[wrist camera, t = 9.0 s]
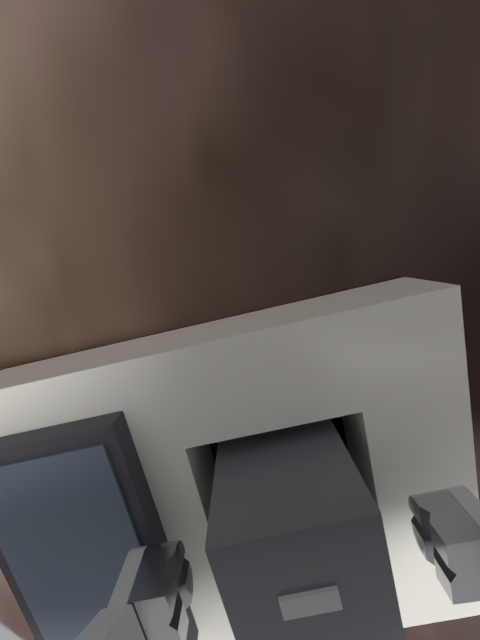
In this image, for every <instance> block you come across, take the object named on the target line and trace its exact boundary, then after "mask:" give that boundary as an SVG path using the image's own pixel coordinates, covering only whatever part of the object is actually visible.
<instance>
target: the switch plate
mask: <svg viewBox="0 0 480 640" xmlns="http://www.w3.org/2000/svg"><path fill="white" fill-rule="evenodd" d="M341 416H342V421H343V426H344V431H345V437H346V442H347V448H348V452H349V454H350V456H351V458H352V460H353V462H354V463H355V465H356V467H357V469H358V471H359V473H360V475H361V477H362V478H363V480H364V482H365V484H366V486H367V488H368V490H369V491H370V493H371V495H372V497H373V499H374V501H375V503H376V505H377V506H378V508H379V510H380V512H381V515H382V520H383V525H384V531H385V536H386V541H387V546H388V551H389V557H390V562H391V567H392V572H393V577H394V583H395V588H396V593H397V598H398V603H399V609H400V614H401V619H402V624H403V628H405V627H411V626H417V625H423V624H429V623H434V622H440V621H446V620H452V619H458V618H464V617H470V616H476V615H480V601H477V602H469V603H462V604H455V605H453V603H452V602H451V600H450V598H449V597H448V595H447V594H446V592H445V590H444V589H443V587H442V585H441V584H440V582H439V580H438V579H437V577H436V570H435V565H433V564H432V563H430V562H429V561H427V560H426V559H425V557H424V555H423V553H422V552H421V550H420V548H419V546H418V544H417V542H416V539H415V536H414V533H413V529H412V524H411V519H412V518H413V516H414V514H413V513H412V511H411V510H410V508H409V503H408V498H409V496H411V495H416V494H420V493H425V492H430V491H435V490H440V489H445V488H450V487H455V486H460V485H463V486H465V487H467V488H468V489H469V490H470V491H471V492H472V493H473V494H474V495H475V497H476V498H477V499H478V500H479V497H478V486H477V474H476V463H475V451H474V439H473V428H472V416H471V405H470V393H469V382H468V370H467V359H466V347H465V336H464V324H463V312H462V301H461V289H460V285H455V284H448V283H442V282H435V281H429V280H422V279H416V278H409V277H402V278H398V279H394V280H389V281H385V282H380V283H376V284H372V285H367V286H363V287H359V288H354V289H350V290H346V291H341V292H337V293H333V294H328V295H324V296H320V297H315V298H311V299H307V300H302V301H298V302H294V303H289V304H285V305H280V306H276V307H272V308H267V309H263V310H259V311H254V312H250V313H246V314H241V315H237V316H233V317H228V318H224V319H220V320H215V321H211V322H207V323H202V324H198V325H194V326H189V327H185V328H180V329H176V330H172V331H167V332H163V333H159V334H154V335H150V336H146V337H141V338H137V339H133V340H128V341H124V342H120V343H115V344H111V345H107V346H102V347H98V348H94V349H89V350H85V351H80V352H76V353H72V354H67V355H63V356H59V357H54V358H50V359H46V360H41V361H37V362H33V363H28V364H24V365H20V366H15V367H11V368H7V369H3V370H1V371H0V568H1V570H2V572H3V574H4V576H5V578H6V580H7V582H8V584H9V586H10V589H11V591H12V593H13V595H14V597H15V599H16V601H17V603H18V605H19V607H20V609H21V611H22V613H23V615H24V617H25V619H26V621H27V623H28V625H29V627H30V629H31V631H32V633H33V635H34V637H35V639H36V640H75V639H76V638H77V637H78V635H79V634H80V633H81V632H82V631H83V630H84V629H85V627H86V626H87V625H88V624H89V623H90V622H91V621H92V620H93V618H94V617H95V616H96V615H97V614H98V613H99V612H100V610H101V609H105V608H107V606H108V604H109V601H110V598H111V596H112V593H113V591H114V588H115V585H116V583H117V580H118V578H119V575H120V572H121V570H122V567H123V565H124V562H125V559H126V557H127V554H128V552H129V551H130V550H131V549H132V548H135V547H141V546H148V545H151V544H158V543H164V542H170V541H176V540H181V541H182V542H183V545H184V547H185V554H184V558H185V559H186V560H188V561H189V562H190V565H191V568H192V574H193V595H192V602H191V604H190V605H189V607H188V608H187V610H186V613H187V616H188V619H189V624H188V630H187V637H186V640H235V637H234V634H233V632H232V629H231V626H230V623H229V620H228V617H227V614H226V611H225V608H224V605H223V602H222V599H221V596H220V594H219V591H218V588H217V585H216V582H215V579H214V576H213V573H212V570H211V567H210V564H209V561H208V559H207V556H206V553H205V543H206V535H207V527H208V519H209V511H210V503H211V495H212V487H213V479H214V471H215V461H214V457H213V454H212V450H211V447H210V444H211V443H216V442H221V441H225V440H230V439H235V438H240V437H245V436H249V435H254V434H259V433H264V432H269V431H273V430H278V429H283V428H288V427H293V426H297V425H302V424H307V423H312V422H317V421H321V420H326V419H331V418H336V417H341Z"/></svg>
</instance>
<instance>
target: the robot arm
mask: <svg viewBox="0 0 480 640" xmlns="http://www.w3.org/2000/svg"><path fill="white" fill-rule="evenodd" d="M408 503H409V508H410V510H411V511H412V513H413V514H414V516H413V518H412V519H411V524H412V529H413V533H414V536H415V539H416V542H417V544H418V546H419V548H420V550H421V552H422V553H423V555H424V557H425V559H426V560H427V561H429V562H430V563H432V564H433V565H435V570H436V577H437V579H438V580H439V582H440V584H441V585H442V587H443V589H444V590H445V592H446V594H447V595H448V597H449V598H450V600H451V602H452V603H453V605H455V604H462V603H469V602H477V601H480V501H479V500H478V499H477V498H476V497H475V495H474V494H473V493H472V492H471V491H470V490H469V489H468V488H467V487H465V486H463V485H460V486H455V487H450V488H445V489H440V490H435V491H430V492H425V493H420V494H416V495H411V496H409V498H408ZM184 554H185V547H184V545H183V542H182V541H181V540H176V541H170V542H164V543H158V544H151V545H148V546H141V547H135V548H132V549H131V550H130V551H129V552H128V554H127V557H126V559H125V562H124V565H123V567H122V570H121V572H120V575H119V578H118V580H117V583H116V585H115V588H114V591H113V593H112V596H111V598H110V601H109V604H108V606H107V608H105V609H101V610H100V612H99V613H98V614H97V615H96V616H95V617H94V618H93V620H92V621H91V622H90V623H89V624H88V625H87V626H86V627H85V629H84V630H83V631H82V632H81V633H80V634H79V635H78V637H77V638H76V639H75V640H186V637H187V630H188V624H189V619H188V616H187V613H186V610H187V608H188V607H189V605H190V604H191V602H192V595H193V574H192V568H191V565H190V562H189V561H188V560H186V559H185V558H184Z"/></svg>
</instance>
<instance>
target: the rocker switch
mask: <svg viewBox="0 0 480 640" xmlns="http://www.w3.org/2000/svg"><path fill="white" fill-rule="evenodd" d="M205 553H206V556H207V559H208V561H209V564H210V567H211V570H212V573H213V576H214V579H215V582H216V585H217V588H218V591H219V594H220V596H221V599H222V602H223V605H224V608H225V611H226V614H227V617H228V620H229V623H230V626H231V629H232V632H233V634H234V637H235V640H405V635H404V630H403V624H402V619H401V614H400V609H399V603H398V598H397V593H396V588H395V583H394V577H393V572H392V567H391V562H390V557H389V551H388V546H387V541H386V536H385V531H384V525H383V520H382V515H381V512H380V510H379V508H378V506H377V505H376V503H375V501H374V499H373V497H372V495H371V493H370V491H369V490H368V488H367V486H366V484H365V482H364V480H363V478H362V477H361V475H360V473H359V471H358V469H357V467H356V465H355V463H354V462H353V460H352V458H351V456H350V454H349V452H348V450H347V449H346V447H345V445H344V443H343V441H342V439H341V437H340V435H339V434H338V432H337V430H336V428H335V426H334V424H333V422H332V421H331V419H326V420H321V421H317V422H312V423H307V424H302V425H297V426H293V427H288V428H283V429H278V430H273V431H269V432H264V433H259V434H254V435H249V436H245V437H240V438H235V439H230V440H225V441H221V442H218V446H217V454H216V462H215V471H214V479H213V487H212V495H211V503H210V511H209V519H208V527H207V535H206V543H205Z"/></svg>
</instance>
